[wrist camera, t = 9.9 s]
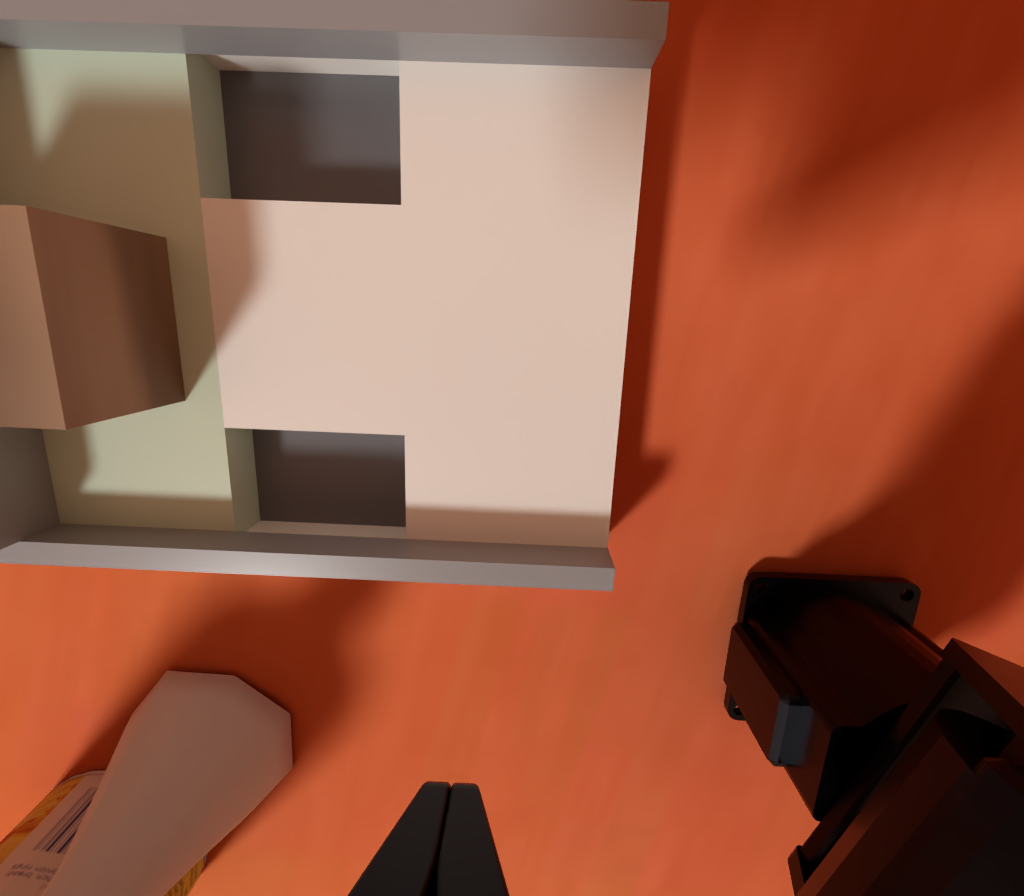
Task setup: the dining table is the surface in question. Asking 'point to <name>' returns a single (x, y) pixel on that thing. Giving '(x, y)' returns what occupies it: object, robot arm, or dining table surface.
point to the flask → (176, 785)
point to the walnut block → (83, 321)
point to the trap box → (344, 280)
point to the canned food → (57, 840)
